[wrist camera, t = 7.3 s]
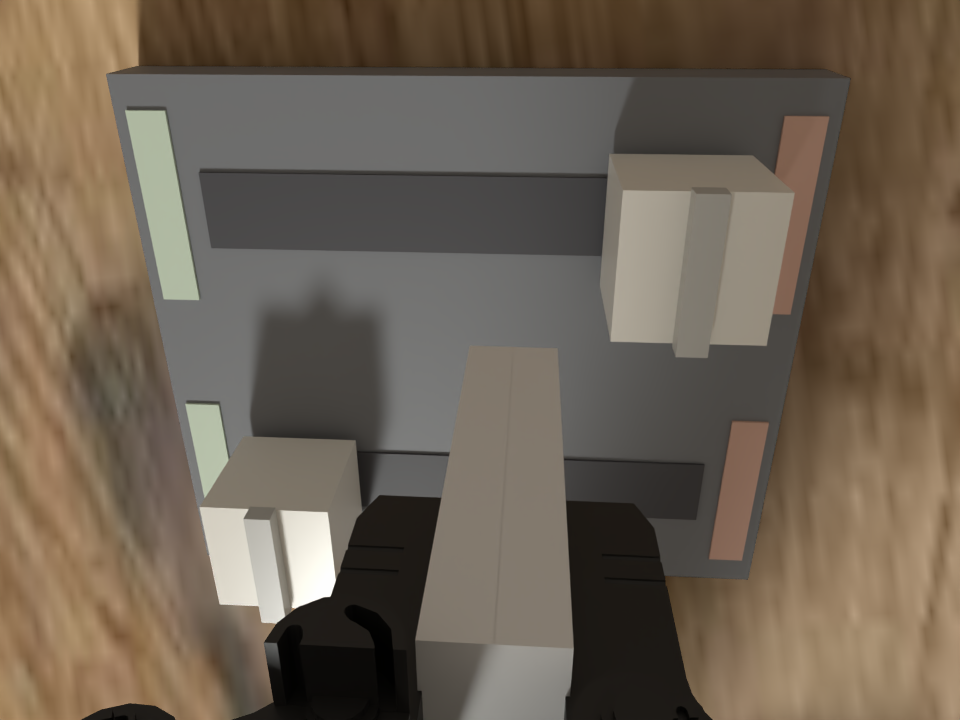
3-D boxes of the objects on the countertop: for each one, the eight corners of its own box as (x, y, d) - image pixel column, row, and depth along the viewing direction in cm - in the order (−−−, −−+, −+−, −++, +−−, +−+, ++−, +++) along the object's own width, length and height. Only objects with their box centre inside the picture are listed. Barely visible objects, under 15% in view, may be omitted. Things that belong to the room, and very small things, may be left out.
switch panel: (735, 544, 31) (748, 581, 29) (225, 522, 32) (206, 556, 30) (826, 69, 23) (852, 78, 21) (137, 65, 24) (103, 74, 22)
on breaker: (363, 532, 29) (335, 626, 25) (259, 528, 29) (213, 620, 25) (355, 437, 27) (322, 522, 23) (243, 434, 27) (190, 517, 23)
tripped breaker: (731, 291, 24) (772, 359, 19) (599, 288, 24) (611, 355, 20) (753, 151, 22) (803, 195, 18) (609, 150, 22) (625, 192, 18)
